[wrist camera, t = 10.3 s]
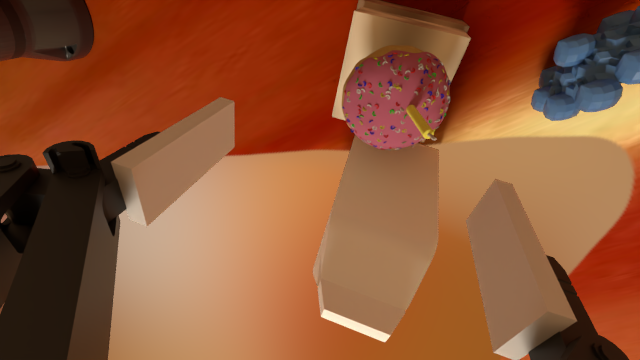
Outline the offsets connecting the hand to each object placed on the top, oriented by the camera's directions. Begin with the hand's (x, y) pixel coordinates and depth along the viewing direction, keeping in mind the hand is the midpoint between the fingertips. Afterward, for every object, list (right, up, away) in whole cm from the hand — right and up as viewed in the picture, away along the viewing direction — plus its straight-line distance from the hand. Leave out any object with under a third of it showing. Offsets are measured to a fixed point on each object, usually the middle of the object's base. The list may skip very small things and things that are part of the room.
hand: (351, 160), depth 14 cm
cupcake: (+5, +8, +12) cm, 16 cm away
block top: (+7, +11, +17) cm, 21 cm away
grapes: (+25, +13, +16) cm, 32 cm away
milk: (+9, +1, +30) cm, 32 cm away
